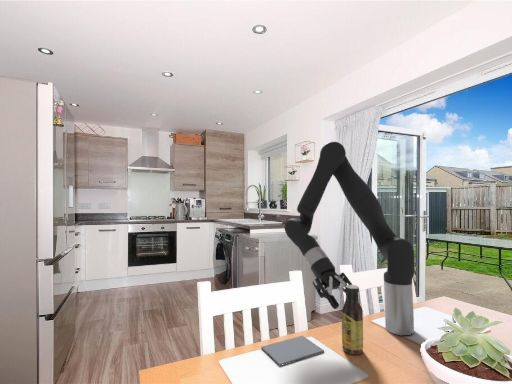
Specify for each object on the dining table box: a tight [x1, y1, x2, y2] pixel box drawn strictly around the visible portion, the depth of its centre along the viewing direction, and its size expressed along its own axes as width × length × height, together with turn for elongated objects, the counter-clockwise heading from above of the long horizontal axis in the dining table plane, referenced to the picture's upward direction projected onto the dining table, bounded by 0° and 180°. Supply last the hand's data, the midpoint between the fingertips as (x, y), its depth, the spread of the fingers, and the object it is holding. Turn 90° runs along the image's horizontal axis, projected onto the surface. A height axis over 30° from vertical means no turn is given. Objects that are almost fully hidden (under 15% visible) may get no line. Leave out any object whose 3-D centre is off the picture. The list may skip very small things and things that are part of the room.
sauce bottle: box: [341, 284, 364, 356], centre depth 86 cm, size 6×6×20 cm
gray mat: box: [261, 335, 325, 366], centre depth 86 cm, size 16×11×1 cm
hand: (346, 305), depth 88 cm, fingers open, 8 cm apart
